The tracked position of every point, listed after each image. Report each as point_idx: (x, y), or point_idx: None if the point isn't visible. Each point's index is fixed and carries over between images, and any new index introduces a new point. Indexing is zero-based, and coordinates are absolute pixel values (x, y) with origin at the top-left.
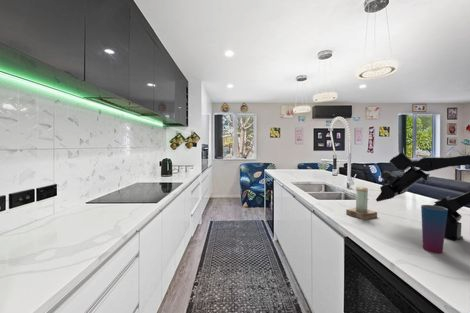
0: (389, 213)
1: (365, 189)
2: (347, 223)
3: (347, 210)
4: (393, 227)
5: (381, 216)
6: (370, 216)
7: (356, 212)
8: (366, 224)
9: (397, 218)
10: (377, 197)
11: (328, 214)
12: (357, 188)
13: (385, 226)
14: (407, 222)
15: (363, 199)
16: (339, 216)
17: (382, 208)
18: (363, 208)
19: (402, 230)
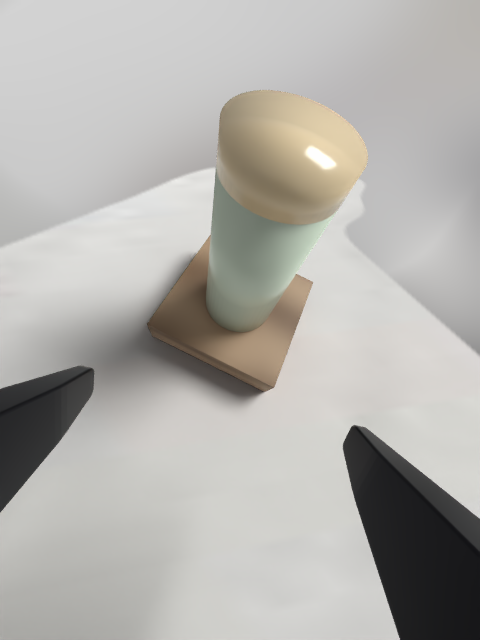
0: (407, 442)
1: (247, 171)
2: (15, 277)
3: (207, 241)
4: (66, 535)
5: (299, 411)
6: (208, 360)
7: (176, 282)
8: (49, 364)
9: (331, 513)
10: (15, 384)
11: (144, 192)
12: (235, 101)
13: (63, 477)
14: (278, 607)
15: (216, 258)
16: (139, 232)
17: (476, 388)
18: (210, 302)
19: (9, 623)
